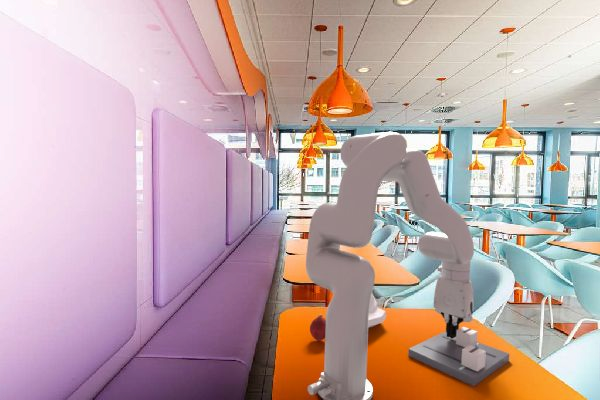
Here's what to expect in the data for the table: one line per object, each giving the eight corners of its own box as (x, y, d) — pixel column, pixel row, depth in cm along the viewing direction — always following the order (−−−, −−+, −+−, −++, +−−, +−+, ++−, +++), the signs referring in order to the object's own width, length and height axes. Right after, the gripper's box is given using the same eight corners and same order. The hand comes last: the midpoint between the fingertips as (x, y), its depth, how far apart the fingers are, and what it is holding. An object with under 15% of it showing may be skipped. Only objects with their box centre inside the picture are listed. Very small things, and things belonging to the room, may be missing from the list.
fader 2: (477, 371, 88) (478, 355, 88) (461, 364, 91) (462, 348, 91) (484, 366, 90) (485, 350, 90) (469, 359, 94) (469, 344, 93)
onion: (327, 346, 104) (328, 319, 103) (308, 344, 105) (308, 317, 104) (330, 337, 109) (331, 312, 109) (311, 335, 111) (312, 310, 110)
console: (473, 386, 86) (474, 377, 86) (408, 355, 100) (408, 348, 100) (508, 360, 98) (509, 353, 98) (446, 336, 112) (446, 330, 112)
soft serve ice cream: (336, 332, 117) (332, 287, 119) (364, 324, 127) (360, 283, 130) (367, 335, 108) (362, 287, 110) (395, 326, 118) (390, 282, 121)
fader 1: (469, 349, 99) (470, 334, 99) (455, 343, 103) (456, 329, 102) (476, 345, 102) (477, 331, 102) (462, 340, 105) (463, 326, 105)
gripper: (424, 270, 108) (421, 330, 109) (475, 283, 96) (471, 350, 97) (438, 267, 112) (435, 324, 114) (487, 278, 101) (484, 342, 102)
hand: (451, 336), depth 106 cm, fingers closed
